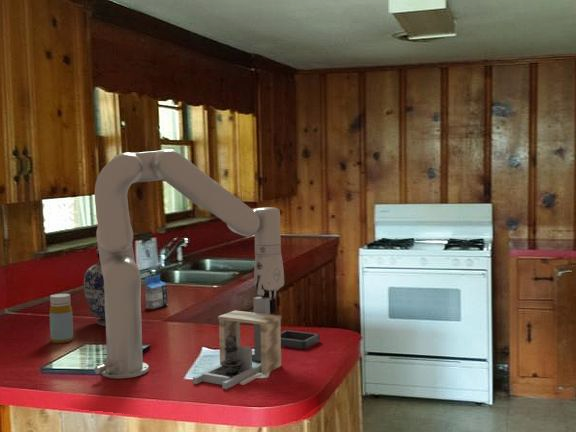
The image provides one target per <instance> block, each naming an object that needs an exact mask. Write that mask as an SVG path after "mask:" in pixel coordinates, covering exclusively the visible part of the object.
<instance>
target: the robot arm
mask: <svg viewBox="0 0 576 432" xmlns="http://www.w3.org/2000/svg"><path fill="white" fill-rule="evenodd" d="M154 181H164V182H165V183H167V184H168V185H170V186H171V187H172V188H173V189H174V190H176V191H177V192H179V193H180V194H181V195H182V196H184V197H185V198H187V199H188V200H189V201H191V203H193V204H194V205H196V206H197V207H199V208H201V209H203V210H206V211H207V212H210V213H211V214H213V215H214V216H215V217H217V218H218V219H220V220H221V221H222V222H224V223H225V224H226V226H227V228H228V230H230V231H231V232H233V233H235V234H238V235H241V236H243V237H250V236H253V235H254V256H255V257H254V258H255V259H254V266H253V267H254V269H253V270H254V271H253V274H254V275H253V280H254V281H253V283H254V284H253V285H254V288H255V290H257V296H260V297H267V298H270V314H273V313H276V298H277V292H278V291H279V290H280V289H281V288H282V287H284V285H285V271H284V263H283V262H284V261H283V257H282V249H281V248H282V243H281V236H282V235H281V212H280V211H281V210H280V209H279V208H277V207H271V206H270V207H258V208H251V207H250V206H248V205H247V204H246V203H245V202H243V201H242V200H241V199H240V198H238V197H237V196H235V194H233V193H231V192H230V191H229V190H227V189H226V188H225V187H223V186H222V185H221V184H220V183H218V182H217V181H216V180H215V179H213V178H212V177H210V176H209V175H208V174H206V173H205V172H204V171H203V170H201V169H200V168H199V167H197V166H196V165H195V164H194V163H192V162H191V161H190V160H189V159H187V157H184V155H182V154H181V153H179V152H178V151H176V150H174V149H170V148H168V149H162V150H155V151H153V150H152V151H142V152H140V151H139V152H122V153H119V154H117V155H115V156H113V158H112V159H111V160H110V161H109V162H107V164H106V165H105V166H104V167H102V168H101V171H100V172H99V174H98V176H97V179H96V181H95V185H94V202H95V203H94V204H95V212H96V221H97V228H96V241H97V249H98V250H99V257H100V259H99V260H100V263H101V269H102V275H103V279H104V294H105V319H106V326H105V338H106V339H105V341H106V358H104V359H103V360H104V361H103V362H104V363H102V364H100V365H98V366H95V367H94V370H93V371H94V373H95V375H96V374H97V375H99V374H101V375H102V376H103V377H105V378H109V379H115V380H117V379H122V380H123V379H130V378H136V377H140V376H143V375H145V374H146V373H148V372H149V370H150V366H149V364H148V363H146V362H144V361H143V358H144V357H143V330H142V329H143V328H142V307H141V305H142V304H141V303H142V301H141V297H142V296H141V293H142V292H141V291H142V276H141V272H140V268H139V266H138V265H137V263H136V261H135V253H134V246H133V240H134V231H133V228H132V222H131V216H130V210H129V200H128V192H129V189H130V187H131V185H132V184H135V183H145V182H154Z"/></svg>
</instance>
